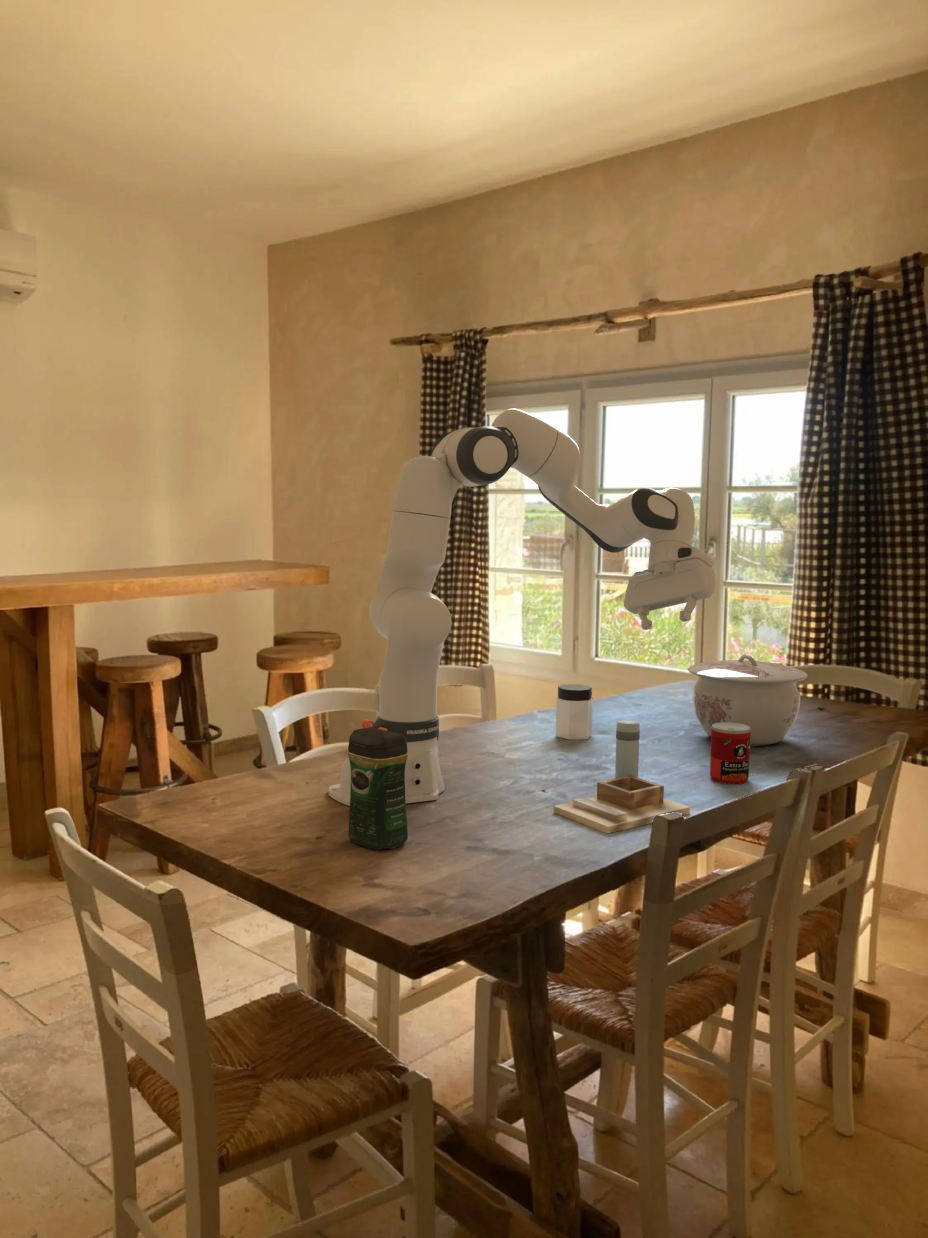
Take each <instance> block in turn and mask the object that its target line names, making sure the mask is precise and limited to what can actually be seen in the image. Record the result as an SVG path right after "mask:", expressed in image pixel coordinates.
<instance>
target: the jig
mask: <svg viewBox="0 0 928 1238" xmlns="http://www.w3.org/2000/svg"><path fill="white" fill-rule="evenodd" d="M664 791H665V786H664V785H662V784H659V783H656V782H653V781H649V780H646V779H643V778H640V777H638V778H637V777H634V776H631V775H630V776H625V777H620V778H612V779H607V780H602V781H597V782H596V796H593V797H579V798H574V799H573V800H572V801H570V802H566V803H561V804H556V805H553V813H555V814H557V815H560V816H562V817H564V818H566V819H570V820H572V821H574V822H578V823H580V824H582V825H585V826H588V827H589V828H592V829H595V830H597V831H600V830H601V831H600V832H602V831H603V832H602V833H605V832H606V833H605V834H607V833H610V834H612V833H611V832H614V833H617V832H616V831H618V832H621V830H622V831H626V830H628V829H629V830H630V829H634V828H637V827H640V826H641V825H642V826H645V825H648V824H649V823H650V824H653V823H652V820H653V817H654V816H656V815H660V814H666V813H672V812H679V813H682V814H683V815H682V816H685V815H689V814H690V812H691V811H690V810H691V807H690V806H688V805H685V804H682V803H679V802H676V801H673V800H671V799H666V798H664V794H665V792H664ZM647 823H648V824H647ZM633 827H634V828H633Z"/></svg>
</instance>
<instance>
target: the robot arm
mask: <svg viewBox="0 0 928 1238" xmlns="http://www.w3.org/2000/svg"><path fill="white" fill-rule="evenodd" d="M580 466H581V452H580V448H579V446H578V444H577V443H576V441H575V440H574V439H573V438H572V437H571V436H570V435H568V434H567V433H566V432H564V431H562V430H560V428H557V427H556V426H554V425H553V424H551V423H549V422H547V421H545V419H542V418H541V417H538V416H536V415H534V414H533V413H528V412H527V411H524V410H521V409H518V408H509V409H506V410H504V411H503V412H501V413H500V414H499V415H497V416H496V418H495V419H494V420H493V422H492V424H491V426H490V425H489V426H488V425H487V426H486V425H485V426H482V425H481V426H477V427H463V428H459V429H455V430H454V431H449V432H446V433H445V434H444V435H443V436H442V437H440V438H439V439H438V440H437V441H436V442H435V444H434V446H433V447H432V449H431V450H430V451H429V452H428V454H427V455H420V456H419V455H418V456H415V457H413V458H410V459H409V460H408V461H406V462H405V464H404V465H403V466H402V470H401V473H400V476H399V478H398V482H397V485H396V489H395V495H394V499H393V505H392V512H391V513H392V514H391V521H390V528H389V535H388V543H387V549H386V555H385V560H384V563H383V567H382V569H381V572H380V575H379V578H378V583H377V586H376V589H375V594H374V596H373V598H372V599H371V601H370V603H369V607H368V615H369V620H370V622H371V624H372V626H373V627H374V629H375V630H376V632H377V633H378V634H379V635H381V637H383V638H385V639H386V640H387V645H386V646H387V647H386V653H385V658H384V663H383V668H382V670H381V673H379V674H380V675H379V680H378V681H379V682H378V685H379V686H378V687H379V690H378V692H379V693H378V695H379V696H378V697H379V698H378V699H379V700H378V702H379V703H378V704H379V707H378V709H379V711H378V712H379V713H378V714H379V715H378V716H377V718H376V720H375V721H374V722H373V721H372V720H369V719H366V718H364V719H363V720H362V721H360V729H363V728H368V727H373V728H377V729H381V730H385V731H389V732H394V733H399V734H402V735H403V736H405V737H406V740H407V750H408V757H407V761H406V765H405V798H406V804H410V803H411V804H412V803H420V802H429V801H436V800H438V799H439V795H440V794H441V793H443V792H444V790H445V788H446V787H445V784H444V780H443V777H442V776H443V775H442V772H441V766H440V760H439V758H440V757H439V748H438V741H439V737H440V717H439V716H438V714H437V712H438V711H437V707H438V702H437V700H438V696H437V695H438V674H439V670H440V664H441V659H442V654H443V651H444V650H443V649H444V644H445V641H446V639H447V638H448V636H449V634H450V632H451V628H452V616H451V613H450V610H449V607H447V605H446V604H445V603H444V602H443V600H441V599H440V597H438V596H437V595H435V594H434V593H432V590H433V588H434V584H435V582H436V579H437V576H438V574H439V571H440V569H441V567H442V565H443V564H444V562H445V559H446V557H447V556H446V555H447V546H448V542H449V541H448V539H449V531H450V524H451V518H452V517H451V516H452V507H453V504H452V503H453V501H454V498H455V495H456V493H457V492H458V490H459V489H460V487H461V486H463V487H471V488H472V487H473V488H474V487H479V486H480V487H481V486H482V485H483V486H485V485H491V484H493V483H495V482H497V481H499V480H500V479H501V478H503V477H504V476H505V475H506V474H507V472H508V471H509V470H510V468H511V469H512V468H513V469H515V470H516V471H517V472H519V473H520V474H522V475H523V476H526V477H527V478H528V479H530V480H532V481H533V482H534V483H535V484H536V485H537V486H538V490H539V492H540V494H541V495H542V496H543V498H544V499H545V500H546V501H547V502H549V503H550V504H551V505H552V506H553V507H554V508H556V509H557V510H558V511H559V512H560V513H561V514H563V515H564V516H566V517H567V518H568V519H569V520H571V521H572V522H573V523H575V524H576V525H577V526H579V528H581V529H582V530H583V531H584V532H586V533H587V535H588V536H589V537H590V538H591V539H592V540H593V542H594V543H595V544H596V545H597V546H598V547H599V548H601V549H602V550H604V551H606V552H607V553H613V554H616V553H620V552H623V551H625V550H626V549H627V548H629V547H631V546H632V545H634V544H635V543H637V542H640V541H641V540H644V539H645V540H648V541H649V543H650V544H649V553H648V562H647V563H648V564H647V568H645V569H643V570H637V571H635V572H634V574H632V575H631V577H629V579H628V583H627V586H626V589H625V595H624V600H623V606H624V608H625V610H626V611H628V612H629V613H631V614H634V615H638V617H639V618H640V620H641V623H640V628H641V629H643V630H644V631H646V630H651V629H653V621H652V620H651V619H649V618H648V616H649V615H650V612H652V611H655V610H656V611H657V610H660V609H665V608H669V607H674V606H677V605H682V604H685V606H684V607H683V610H680V611H679V621H682V622H683V623H685V622H690V621H691V619H692V613H693V612H694V610H695V608H696V607H697V605H698V601H700V600H704V599H708V598H711V597H712V596H713V594H714V593H715V586H716V583H715V582H716V581H715V580H716V579H715V578H716V577H715V570H714V569H713V566H714V559H713V558H712V557H711V556H710V555H708V554H707V553H706V552H704V551H702V550H701V549H699V548H697V547H695V546H693V544H692V540H693V537H694V534H695V525H696V523H695V522H696V517H695V514H696V513H695V506H694V505H695V504H694V502H693V498H692V497H691V495H690V494H689V493H688V492H687V491H685V490H683V489H680V488H676V487H667V488H664V489H662V490H661V489H660V490H656V489H654V488H651V487H648V486H645V487H639V488H637V489H634V490H633V491H632V492H629V493H627V494H626V495H623V497H621V498H619V499H617V500H616V501H614V502H612V503H609V504H598V503H597V502H596V501H594V500H593V499H592V498H591V497H589V496H588V495H587V494H586V493H584V492H583V491H582V490H581V489H580V488H578V487H577V486H576V485H575V484H574V483H575V481H576V479H577V476H578V474H579V470H580ZM342 763H343V764H342V767H341V772H340V777H339V783H336V784H332V785H330V786H329V787H328V792H327V793H328V796H329V797H330V798H332V799H333V800H334V801H336V802H337V803H338V802H339V803H340V804H343V805H346V806H349V807H350V789H351V768H350V761H349V756H348V757H347V758H346V759H345V760H344V762H342Z"/></svg>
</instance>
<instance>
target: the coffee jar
mask: <svg viewBox="0 0 928 1238" xmlns="http://www.w3.org/2000/svg"><path fill="white" fill-rule="evenodd" d="M347 755H348V757H349V761H350V768H351V789H350V806H349V813H348V814H349V815H348V832H347V833H348V838H349V840H350V841H351V842H352V843H355V844H357V845H359V846H362V847H365V848H368V849H373V850H381V849H388V850H389V849H390V850H392V849H395V848H398V847H401V845H403V844H404V843H406V842H407V840H408V836H409V835H408V831H409V830H408V814H407V803H406V798H405V765H406V761H407V757H408V750H407V740H406V737H405V736H403V735H402V734H399V733H394V732H389V731H385V730H381V729H377V728H373V727H368V728H363V729H362V728H357V729H353V731H352V732H351V733H350V735H349V739H348V749H347Z"/></svg>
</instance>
